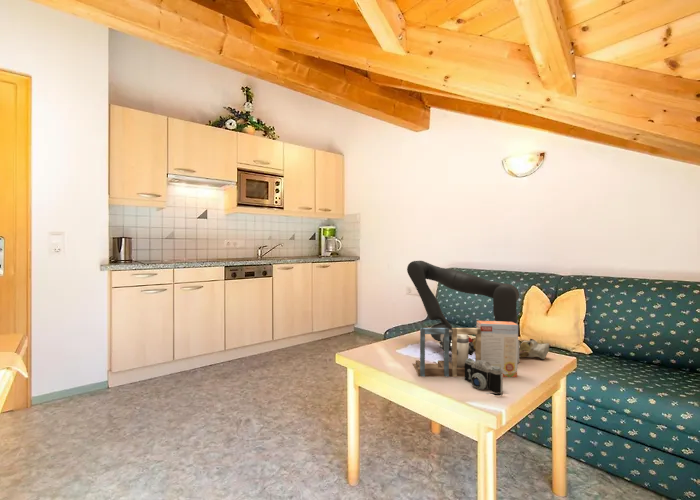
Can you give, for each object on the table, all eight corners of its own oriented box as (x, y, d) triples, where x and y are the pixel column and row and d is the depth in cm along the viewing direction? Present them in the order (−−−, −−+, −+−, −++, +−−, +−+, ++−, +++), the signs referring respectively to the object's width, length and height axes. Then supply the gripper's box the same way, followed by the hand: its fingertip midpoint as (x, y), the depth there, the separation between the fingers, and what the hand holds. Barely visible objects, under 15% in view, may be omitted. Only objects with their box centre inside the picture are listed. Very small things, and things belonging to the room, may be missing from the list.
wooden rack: (469, 366, 142) (470, 320, 142) (482, 379, 128) (483, 329, 128) (412, 365, 142) (412, 320, 142) (418, 379, 128) (419, 328, 128)
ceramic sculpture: (549, 342, 146) (511, 340, 152) (551, 363, 145) (512, 359, 152) (548, 337, 155) (511, 335, 162) (549, 356, 155) (512, 353, 162)
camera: (456, 383, 124) (456, 356, 124) (469, 379, 128) (469, 353, 128) (492, 399, 112) (492, 368, 112) (505, 394, 115) (505, 365, 115)
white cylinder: (465, 368, 137) (466, 333, 136) (470, 373, 132) (470, 337, 131) (453, 368, 137) (453, 333, 136) (457, 373, 131) (457, 337, 131)
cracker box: (511, 374, 133) (513, 321, 133) (517, 380, 127) (519, 324, 127) (474, 372, 135) (476, 319, 134) (479, 378, 129) (480, 323, 128)
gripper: (434, 331, 148) (445, 342, 131) (467, 331, 148) (482, 343, 131) (434, 348, 148) (445, 362, 131) (467, 348, 148) (482, 362, 131)
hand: (463, 352), depth 131 cm, fingers closed on white cylinder, 5 cm apart
